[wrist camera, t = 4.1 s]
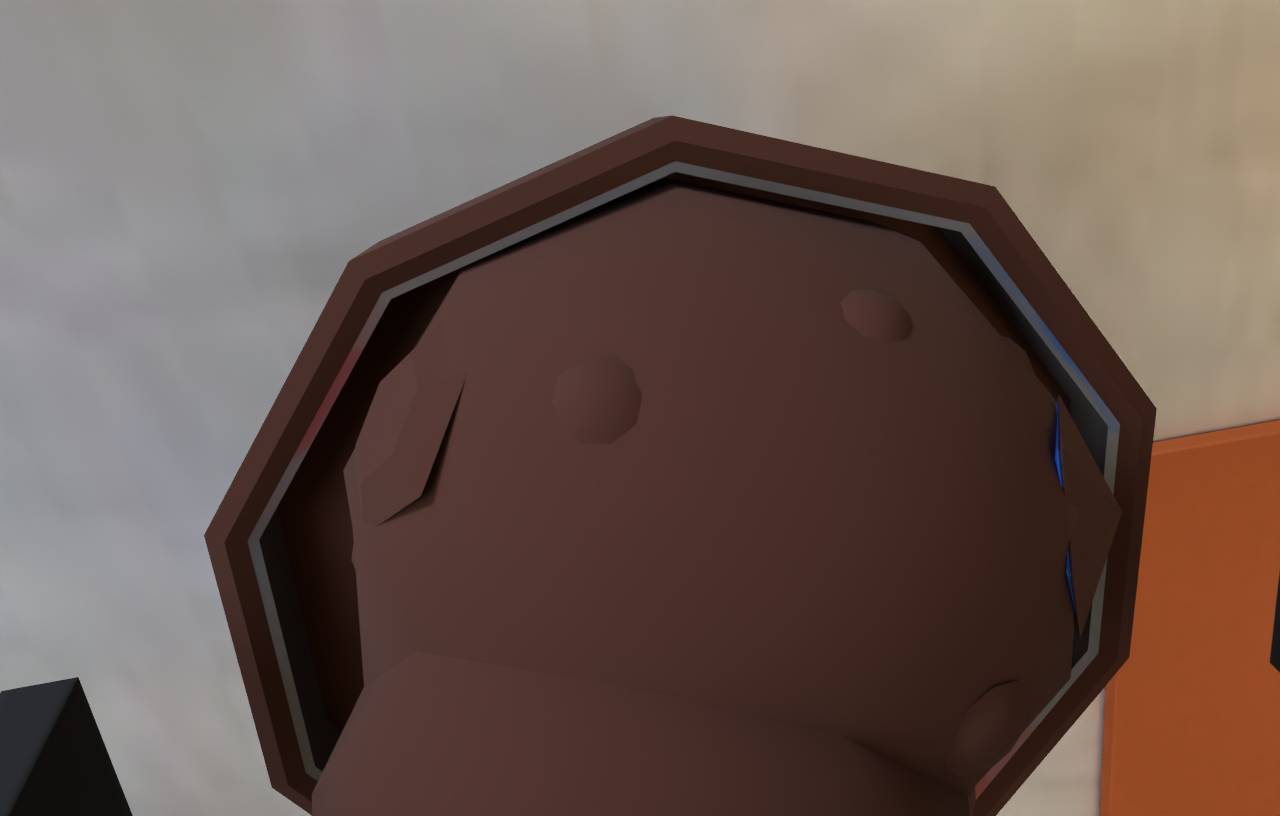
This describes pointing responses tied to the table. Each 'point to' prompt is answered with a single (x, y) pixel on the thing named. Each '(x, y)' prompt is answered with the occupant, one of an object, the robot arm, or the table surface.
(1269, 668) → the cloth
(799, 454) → the ice cream bowl
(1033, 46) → the table surface
